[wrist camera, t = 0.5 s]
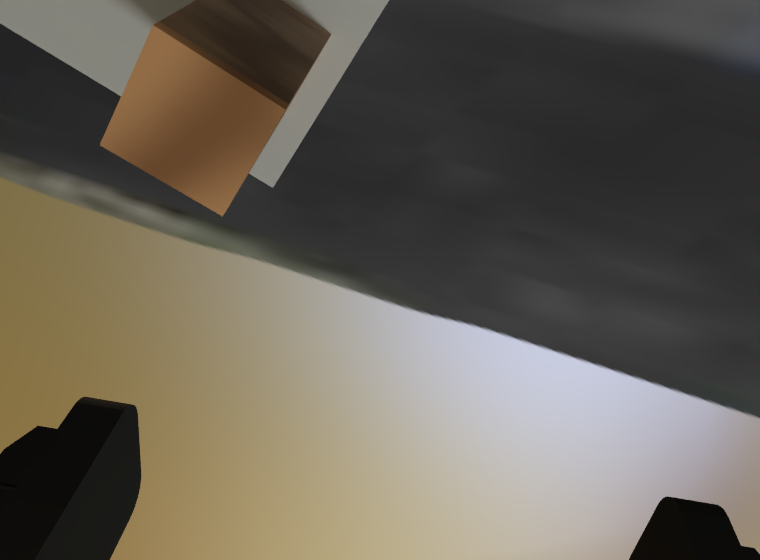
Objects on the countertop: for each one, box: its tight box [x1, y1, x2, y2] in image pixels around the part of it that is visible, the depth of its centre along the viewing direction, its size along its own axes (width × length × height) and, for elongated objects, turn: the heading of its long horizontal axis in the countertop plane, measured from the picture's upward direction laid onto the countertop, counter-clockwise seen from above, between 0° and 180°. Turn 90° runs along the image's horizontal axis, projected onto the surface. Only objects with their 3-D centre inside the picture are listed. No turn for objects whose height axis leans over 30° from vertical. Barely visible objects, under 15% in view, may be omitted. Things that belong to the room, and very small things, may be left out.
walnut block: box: [100, 0, 331, 216], centre depth 29 cm, size 5×5×12 cm
